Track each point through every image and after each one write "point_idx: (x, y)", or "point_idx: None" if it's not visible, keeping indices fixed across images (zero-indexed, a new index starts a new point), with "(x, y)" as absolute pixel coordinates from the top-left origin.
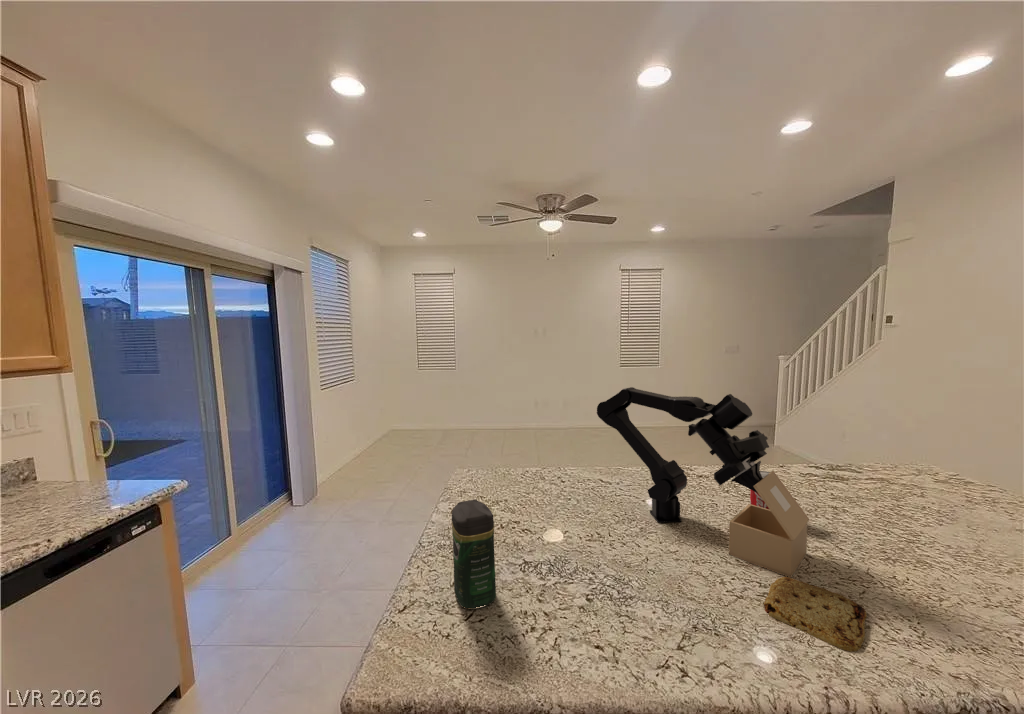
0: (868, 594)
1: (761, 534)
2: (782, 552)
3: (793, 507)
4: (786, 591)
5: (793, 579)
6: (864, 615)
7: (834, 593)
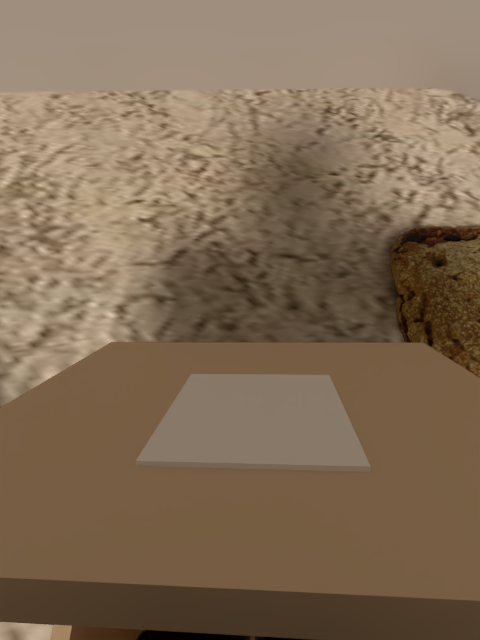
0: (290, 247)
1: None
2: None
3: (165, 370)
4: None
5: None
6: (438, 227)
7: (427, 276)
